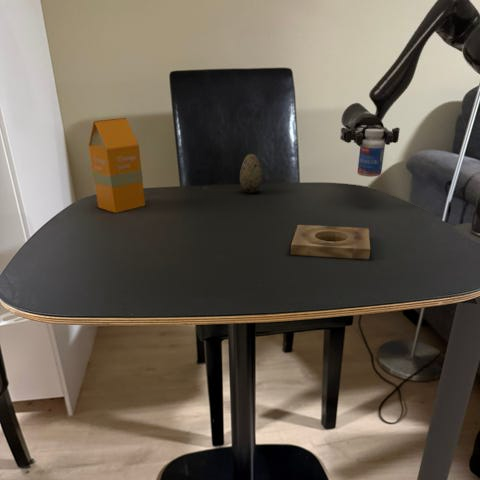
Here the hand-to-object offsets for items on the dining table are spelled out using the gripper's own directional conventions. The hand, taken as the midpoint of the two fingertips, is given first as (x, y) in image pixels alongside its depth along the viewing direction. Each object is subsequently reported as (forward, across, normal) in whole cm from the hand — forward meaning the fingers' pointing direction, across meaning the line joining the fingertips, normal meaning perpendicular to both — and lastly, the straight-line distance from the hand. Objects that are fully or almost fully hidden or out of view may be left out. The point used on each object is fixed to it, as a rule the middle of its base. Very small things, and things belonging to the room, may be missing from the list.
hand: (374, 139), depth 106 cm
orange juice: (+1, +60, -16) cm, 62 cm away
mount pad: (+26, +10, -16) cm, 31 cm away
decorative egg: (-15, +29, -16) cm, 36 cm away
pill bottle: (-3, 0, -8) cm, 9 cm away
